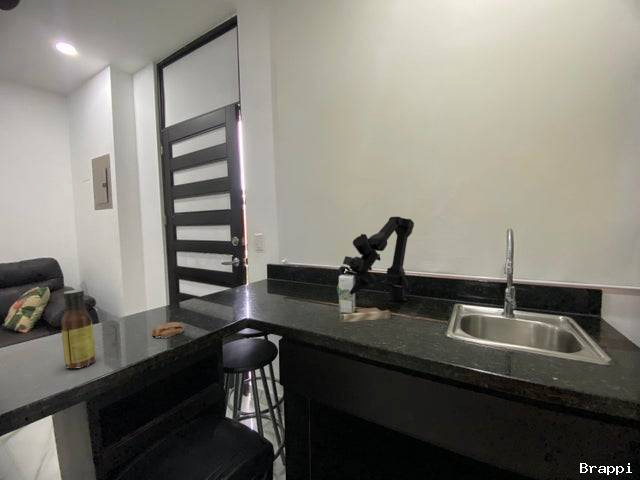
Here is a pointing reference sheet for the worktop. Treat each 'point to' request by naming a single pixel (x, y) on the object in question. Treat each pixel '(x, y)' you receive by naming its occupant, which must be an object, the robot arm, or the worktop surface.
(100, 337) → the worktop surface
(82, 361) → the sauce bottle
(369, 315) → the straightedge
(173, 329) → the cookie
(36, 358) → the worktop surface
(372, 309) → the end pad
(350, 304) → the syrup box
